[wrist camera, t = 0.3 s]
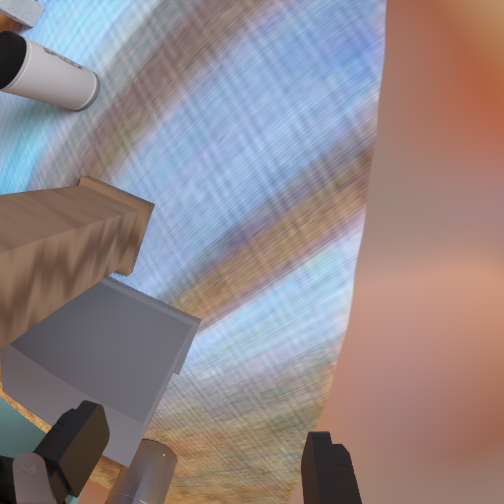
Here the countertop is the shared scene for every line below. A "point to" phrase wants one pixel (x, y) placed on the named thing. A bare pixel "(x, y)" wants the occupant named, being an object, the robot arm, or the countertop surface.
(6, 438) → the teal bar
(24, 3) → the skincare box
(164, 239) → the countertop surface
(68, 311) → the charcoal pedestal
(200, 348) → the countertop surface
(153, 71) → the countertop surface
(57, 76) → the travel mug
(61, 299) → the walnut stand
